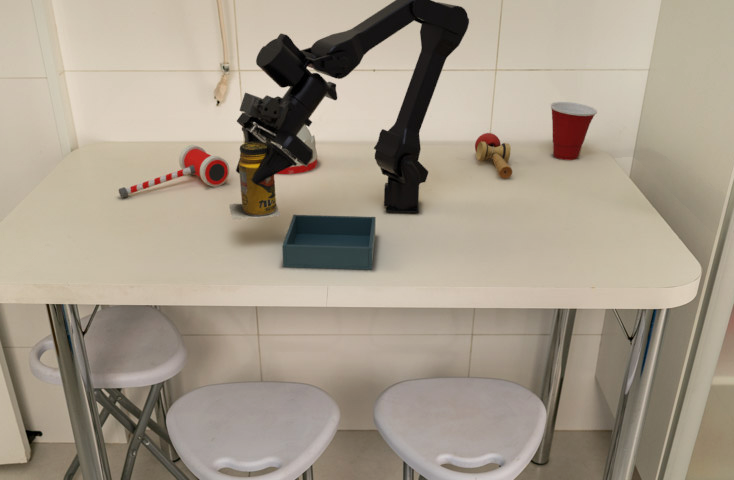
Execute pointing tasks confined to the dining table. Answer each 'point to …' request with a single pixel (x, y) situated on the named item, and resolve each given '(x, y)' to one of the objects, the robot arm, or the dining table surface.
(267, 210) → the condiment
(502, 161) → the kendama
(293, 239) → the tote
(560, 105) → the plastic cup
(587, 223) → the dining table surface
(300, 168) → the kitchen timer
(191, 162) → the toy hammer
